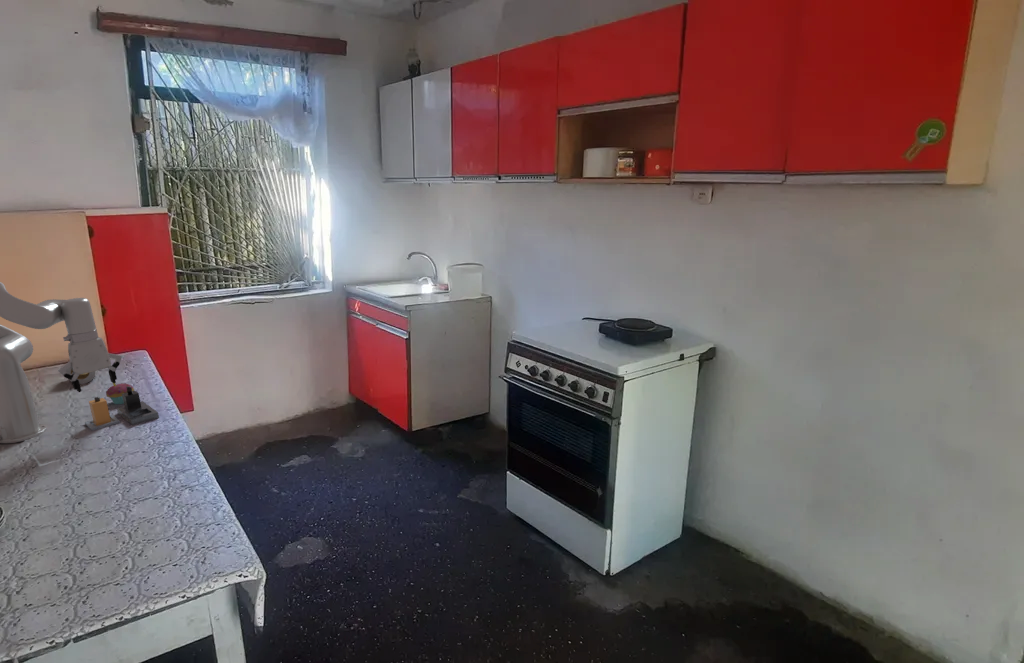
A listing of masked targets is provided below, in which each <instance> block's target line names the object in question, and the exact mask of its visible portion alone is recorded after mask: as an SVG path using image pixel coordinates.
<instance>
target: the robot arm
mask: <svg viewBox="0 0 1024 663" xmlns="http://www.w3.org/2000/svg"><path fill="white" fill-rule="evenodd" d="M0 317H1V318H2V319H4V320H6V321H8V322H10V323H13V324H17V325H20V326H23V327H26V328H31V329H34V330H46V329H48V328H51V327H52V326H54V325H57V324H58V323H61V322H64V324H65V328H66V331H67V335H66V336H63V337H62V338H63V342H68V343H67V346H68V347H67V351H68V358H69V361H68V362H66V363H65V364H64V365H63V366H61V367H59V368H58V369H57V372H58V373H59V374H60V375H62V377H64V378H66V379H67V378H68V379H70V380H72V382H71V383H72V386H73V390H74V391H76V392H78V393H81V392H82V387H81V384H80V383H79V380H77V378H78V376H79V374H84V373H89V372H93V371H97V370H99V371H101V370H104V369H105V370H106V369H108V371H107V372H108V376H109V379H110V382H111V383H112V384H113V383H115V384H117V382H116V380H118V378H117V372H116V370H117V369H118V368H119V366H120V365H121V364H120V363H121V360H122V355H119V354H115V353H110V352H109V351H108V349H107V346H106V343H105V342H104V339H103V338H102V337H99V334H98V330H97V325H96V321H95V318H94V313H93V310H92V305H91V302H90V300H89V299H88V298H86V297H75V298H69V299H54V298H53V299H46V300H44V301H41V302H39V303H37V304H36V303H32V302H29V301H26V300H23V299H21V298H18V297H17V296H14V295H12V294H11V293H9V292H8V290H7V289H6V286H5V284H4V283H3V282H1V281H0ZM33 352H34V346H33V343H32V341H31V340H30V338H28V337H26V336H25V335H23V334H21V333H19V332H17V331H15V330H13V329H11V328H9V327H7V326H5V325H2V324H0V444H14V443H20V442H24V441H25V440H26V441H27V440H29V439H33V438H35V437H38V436H40V435H42V434H44V433H45V432H46V431H47V430H48V427H47V425H45V424H41V423H40V421H39V418H38V413H37V410H36V405H35V403H34V401H35V400H34V398H33V394H32V391H31V386H30V382H29V379H28V377H27V374H26V372H25V371H24V369H23V367H22V365H21V364H22V363H23V362H26V360H28V359H29V358H30V357H31V356H32V354H33ZM111 359H115V360H114V362H113V363H112V362H111ZM70 367H71V368H72V371H73V373H72V374H71V375H70V374H67V373H66V372H65V371H66V370H67V369H68V368H70ZM68 379H67V380H68ZM70 380H69V381H70Z"/></svg>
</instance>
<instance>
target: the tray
mask: <svg viewBox="0 0 1024 663" xmlns="http://www.w3.org/2000/svg"><path fill="white" fill-rule="evenodd" d="M109 415H110V419H111V422H109V423H106V424H102V425H99V426H96V425H95V424H94V422H93V419H91V420H89V421H85V422H84V425H86V427H87V428H88V429H89V430H90V431H96V430H99V429H102V428H106V427H110V426H113V425H117V424H121V421H120V419H118V418H117V417H116V416H115V415H114V414H109Z"/></svg>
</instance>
